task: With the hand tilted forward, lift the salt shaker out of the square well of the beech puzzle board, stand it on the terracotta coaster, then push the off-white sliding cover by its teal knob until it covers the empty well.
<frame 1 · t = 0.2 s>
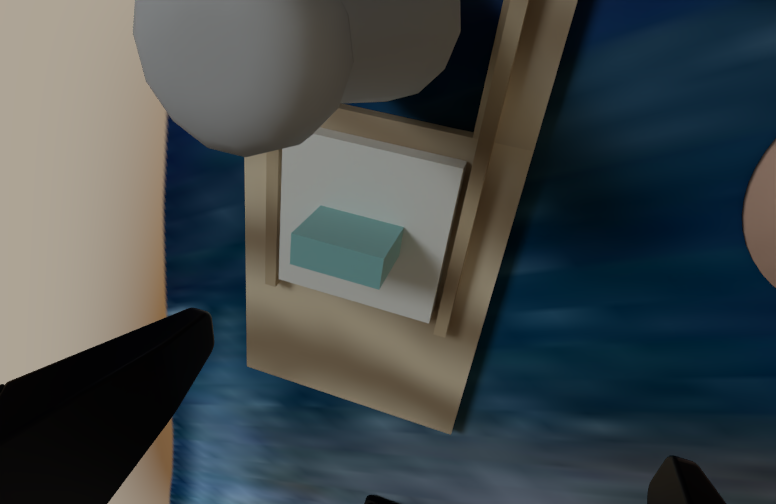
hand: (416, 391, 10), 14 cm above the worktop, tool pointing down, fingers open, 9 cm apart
salt shaker: (400, 13, 20), resting in board
board: (375, 196, 24), on the worktop
cover: (352, 240, 22), point 3 cm above the worktop, slide at 0.0 cm
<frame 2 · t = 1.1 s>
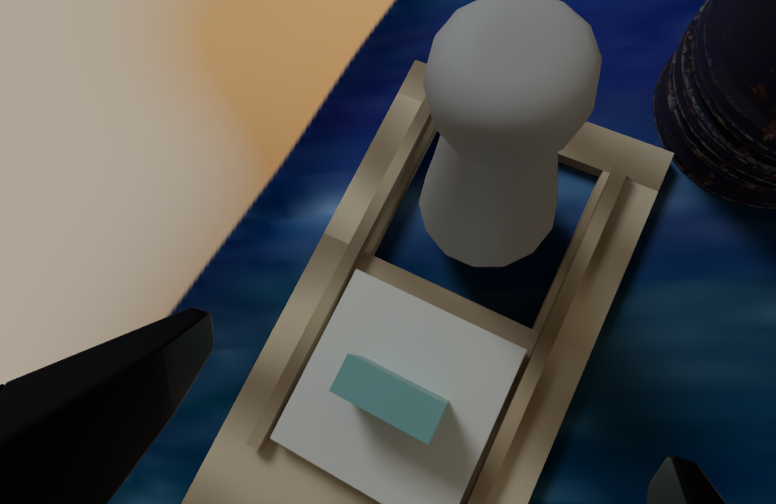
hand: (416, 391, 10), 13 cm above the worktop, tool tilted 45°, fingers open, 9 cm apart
salt shaker: (484, 219, 24), resting in board
board: (411, 372, 23), on the worktop
storage jar: (760, 112, 24), on the worktop
cover: (393, 395, 20), point 3 cm above the worktop, slide at 0.0 cm
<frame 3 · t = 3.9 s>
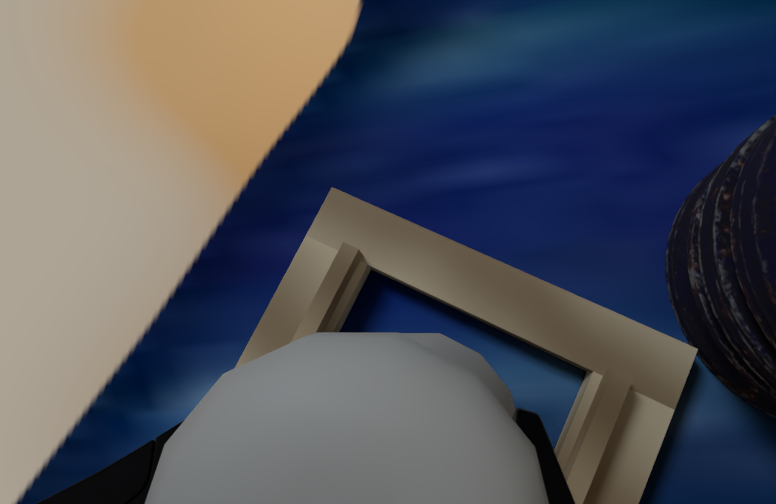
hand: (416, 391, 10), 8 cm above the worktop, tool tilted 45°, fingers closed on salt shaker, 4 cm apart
salt shaker: (423, 426, 17), resting in board, touching gripper
when the fingers open (9 cm above the worktop, at t = 7.2 s): salt shaker stays where it is, resting on pad.
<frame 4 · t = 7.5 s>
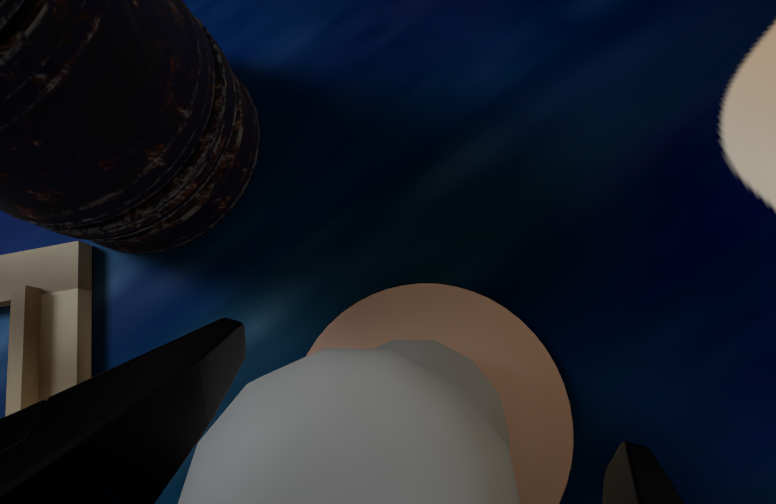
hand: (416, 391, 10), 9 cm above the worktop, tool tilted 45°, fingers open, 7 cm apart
salt shaker: (418, 426, 18), resting on pad
pad: (425, 422, 18), on the worktop
storage jar: (158, 149, 23), on the worktop
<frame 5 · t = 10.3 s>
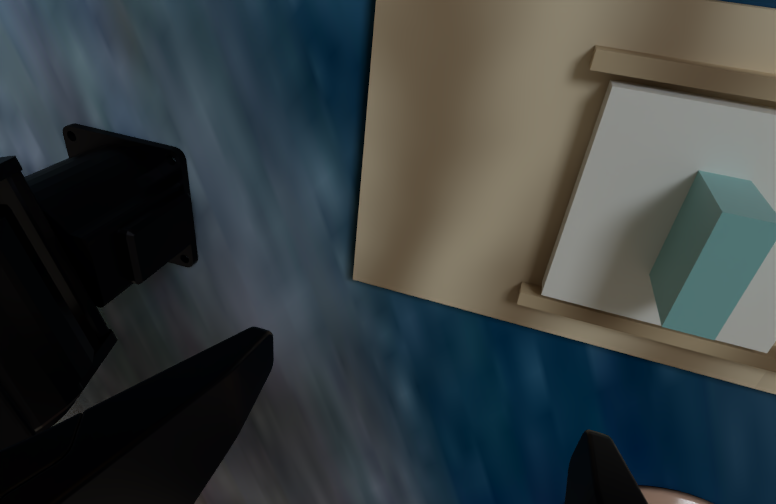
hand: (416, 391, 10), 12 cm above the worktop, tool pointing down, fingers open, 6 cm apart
board: (715, 213, 18), on the worktop
cover: (702, 245, 16), point 3 cm above the worktop, slide at 0.0 cm
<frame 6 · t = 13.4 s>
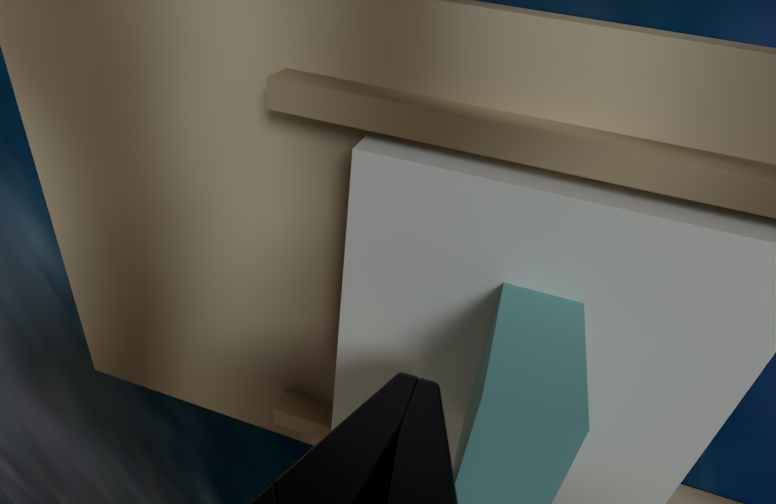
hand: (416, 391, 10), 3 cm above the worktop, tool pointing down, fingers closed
board: (519, 314, 12), on the worktop
cover: (512, 402, 10), point 3 cm above the worktop, slide at 1.1 cm, touching gripper
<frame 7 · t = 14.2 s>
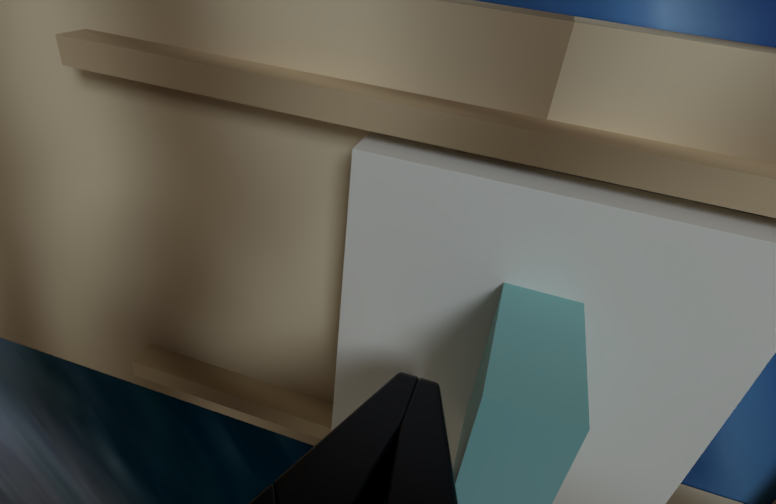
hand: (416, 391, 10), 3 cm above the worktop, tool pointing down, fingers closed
board: (338, 264, 13), on the worktop
cover: (512, 402, 10), point 3 cm above the worktop, slide at 5.8 cm, touching gripper
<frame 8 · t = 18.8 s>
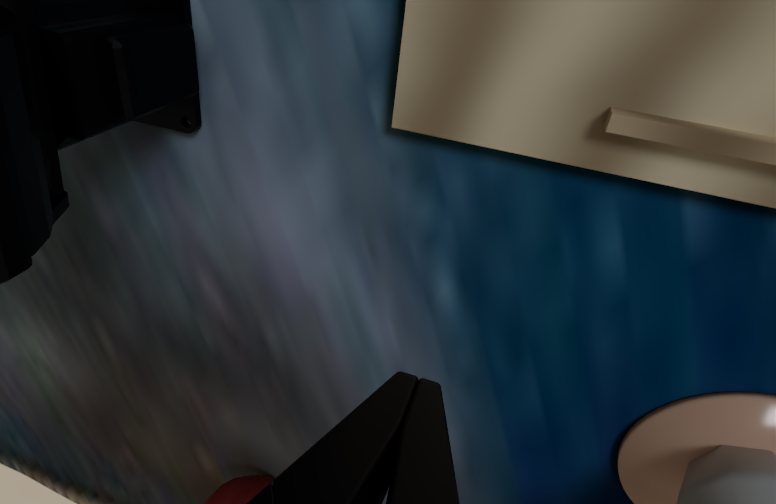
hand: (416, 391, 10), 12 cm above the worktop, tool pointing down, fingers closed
onion: (272, 474, 36), on the worktop
salt shaker: (738, 472, 23), resting on pad
pad: (735, 472, 23), on the worktop
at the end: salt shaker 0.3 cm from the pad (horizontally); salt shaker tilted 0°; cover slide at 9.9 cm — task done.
